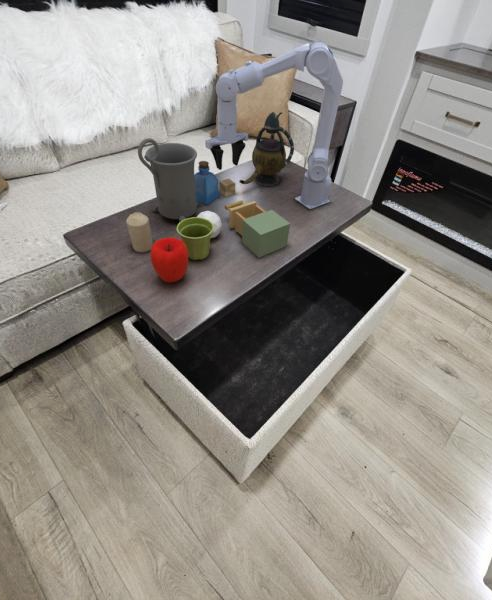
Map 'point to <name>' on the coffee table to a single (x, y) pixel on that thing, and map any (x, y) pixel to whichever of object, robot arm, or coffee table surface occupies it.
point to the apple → (169, 258)
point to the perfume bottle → (205, 184)
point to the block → (227, 187)
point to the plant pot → (196, 236)
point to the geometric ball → (214, 219)
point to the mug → (172, 177)
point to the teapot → (270, 153)
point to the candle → (139, 232)
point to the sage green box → (265, 233)
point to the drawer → (242, 213)
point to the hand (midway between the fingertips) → (227, 166)
